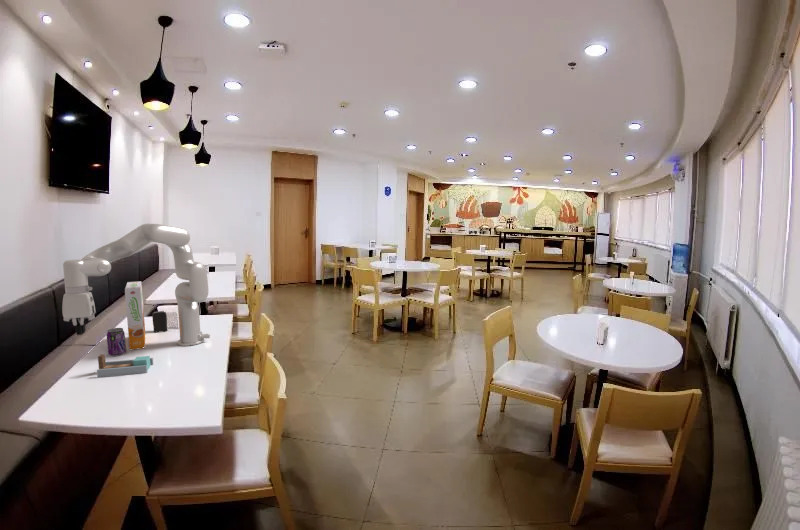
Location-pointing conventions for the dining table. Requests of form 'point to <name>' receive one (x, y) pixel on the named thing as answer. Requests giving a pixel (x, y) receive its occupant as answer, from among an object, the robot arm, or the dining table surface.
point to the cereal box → (135, 314)
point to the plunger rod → (103, 365)
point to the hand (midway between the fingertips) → (80, 333)
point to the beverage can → (116, 341)
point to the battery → (159, 321)
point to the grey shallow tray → (122, 368)
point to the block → (142, 361)
